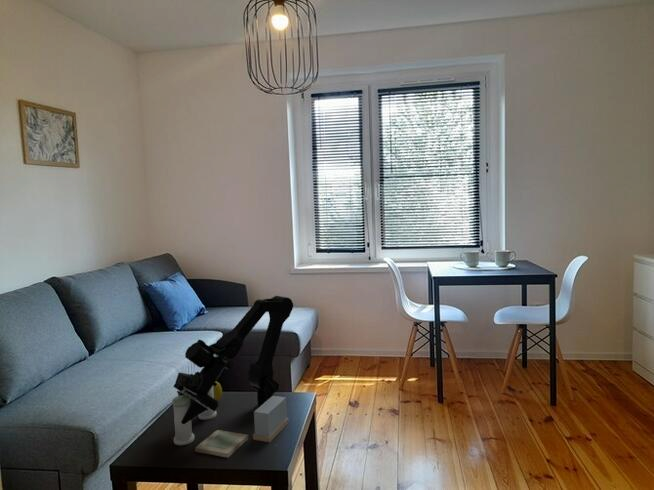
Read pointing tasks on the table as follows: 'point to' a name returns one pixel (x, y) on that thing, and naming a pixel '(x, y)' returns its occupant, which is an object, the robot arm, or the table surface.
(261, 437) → the block
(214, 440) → the pad
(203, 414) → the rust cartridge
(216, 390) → the lemon
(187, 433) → the knob
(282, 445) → the table surface
